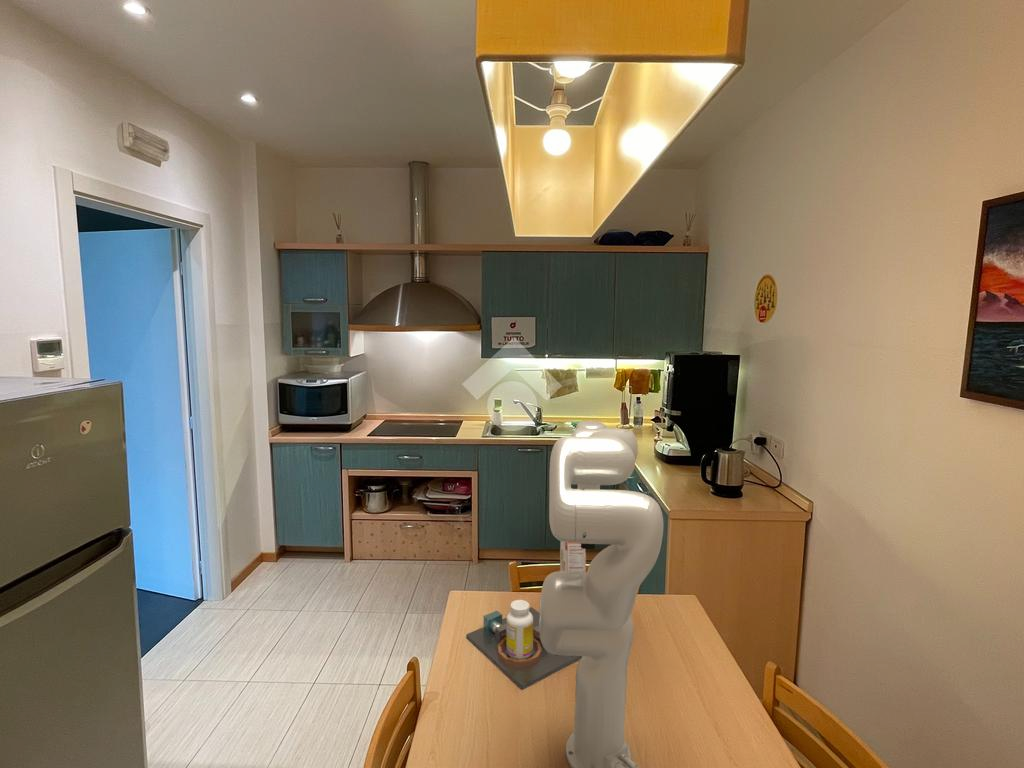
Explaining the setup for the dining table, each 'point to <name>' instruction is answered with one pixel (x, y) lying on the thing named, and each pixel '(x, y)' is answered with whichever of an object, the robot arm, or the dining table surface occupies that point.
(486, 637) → the base
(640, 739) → the dining table surface
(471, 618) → the dining table surface
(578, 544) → the cracker box
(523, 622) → the supplement bottle
